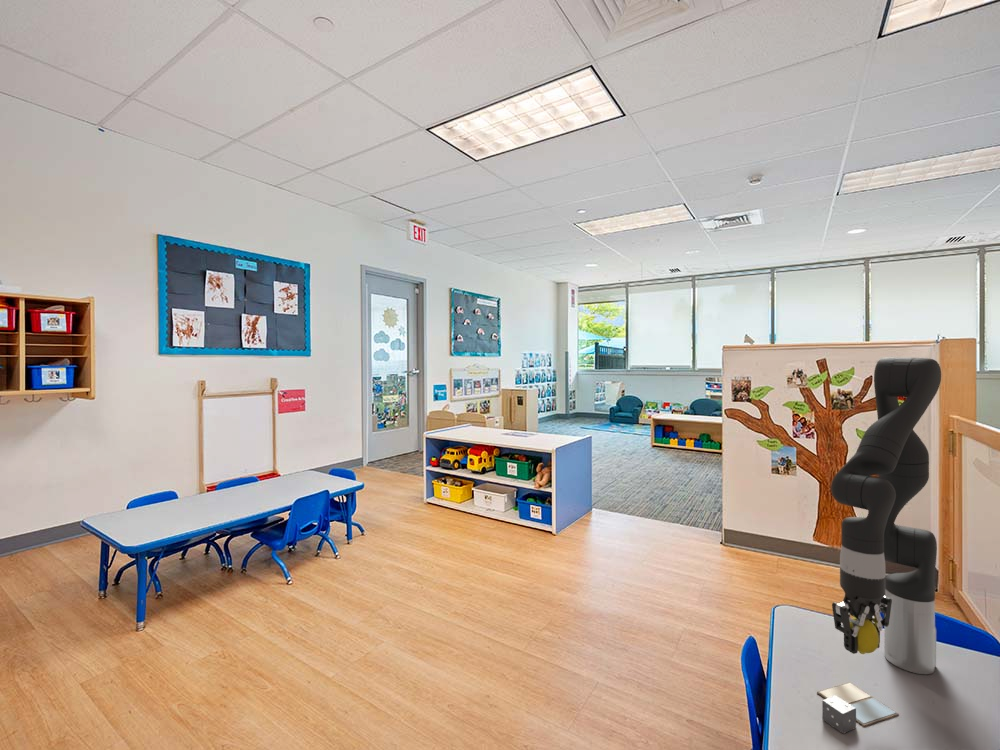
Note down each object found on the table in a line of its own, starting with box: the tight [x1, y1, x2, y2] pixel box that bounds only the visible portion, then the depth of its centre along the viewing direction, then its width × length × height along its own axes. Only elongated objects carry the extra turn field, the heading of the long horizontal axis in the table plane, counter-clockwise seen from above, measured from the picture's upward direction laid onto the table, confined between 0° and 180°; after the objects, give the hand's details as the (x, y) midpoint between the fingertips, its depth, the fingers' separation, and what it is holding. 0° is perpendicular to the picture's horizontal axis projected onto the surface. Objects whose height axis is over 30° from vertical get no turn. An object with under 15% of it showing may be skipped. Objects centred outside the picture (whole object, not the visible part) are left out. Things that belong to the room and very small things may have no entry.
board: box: [816, 681, 899, 727], centre depth 99 cm, size 10×10×1 cm
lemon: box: [850, 616, 879, 655], centre depth 97 cm, size 6×6×8 cm
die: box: [821, 695, 857, 734], centre depth 94 cm, size 4×4×4 cm
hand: (862, 648), depth 97 cm, fingers closed on lemon, 5 cm apart
